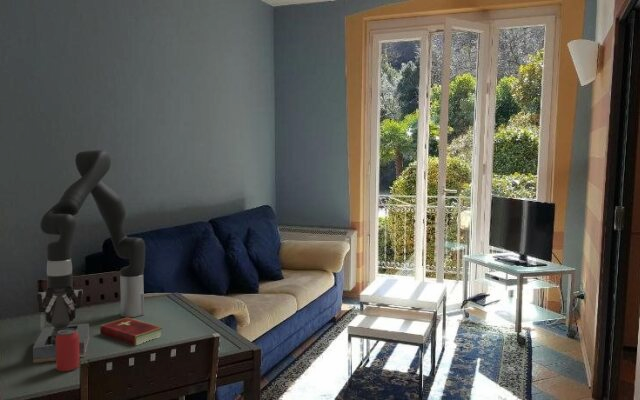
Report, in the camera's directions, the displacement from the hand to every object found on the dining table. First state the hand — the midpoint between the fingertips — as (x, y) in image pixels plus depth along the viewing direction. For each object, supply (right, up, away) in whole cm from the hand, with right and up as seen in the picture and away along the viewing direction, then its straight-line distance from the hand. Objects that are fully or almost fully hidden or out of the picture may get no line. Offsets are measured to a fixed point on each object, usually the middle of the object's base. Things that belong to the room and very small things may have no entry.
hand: (61, 321), depth 168 cm
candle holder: (0, -9, +1) cm, 9 cm away
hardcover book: (+16, -11, +19) cm, 28 cm away
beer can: (+8, -12, -11) cm, 18 cm away
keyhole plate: (-2, -11, +5) cm, 12 cm away
